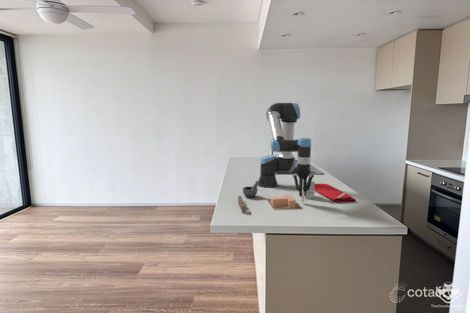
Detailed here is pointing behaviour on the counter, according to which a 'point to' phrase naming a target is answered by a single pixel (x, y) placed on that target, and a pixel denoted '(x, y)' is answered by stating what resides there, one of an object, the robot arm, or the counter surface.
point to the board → (245, 207)
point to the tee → (283, 201)
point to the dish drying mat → (333, 193)
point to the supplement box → (310, 190)
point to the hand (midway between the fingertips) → (302, 201)
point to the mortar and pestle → (250, 190)
